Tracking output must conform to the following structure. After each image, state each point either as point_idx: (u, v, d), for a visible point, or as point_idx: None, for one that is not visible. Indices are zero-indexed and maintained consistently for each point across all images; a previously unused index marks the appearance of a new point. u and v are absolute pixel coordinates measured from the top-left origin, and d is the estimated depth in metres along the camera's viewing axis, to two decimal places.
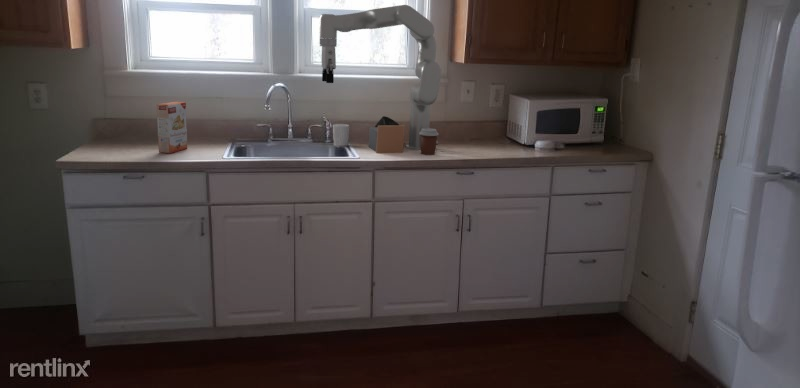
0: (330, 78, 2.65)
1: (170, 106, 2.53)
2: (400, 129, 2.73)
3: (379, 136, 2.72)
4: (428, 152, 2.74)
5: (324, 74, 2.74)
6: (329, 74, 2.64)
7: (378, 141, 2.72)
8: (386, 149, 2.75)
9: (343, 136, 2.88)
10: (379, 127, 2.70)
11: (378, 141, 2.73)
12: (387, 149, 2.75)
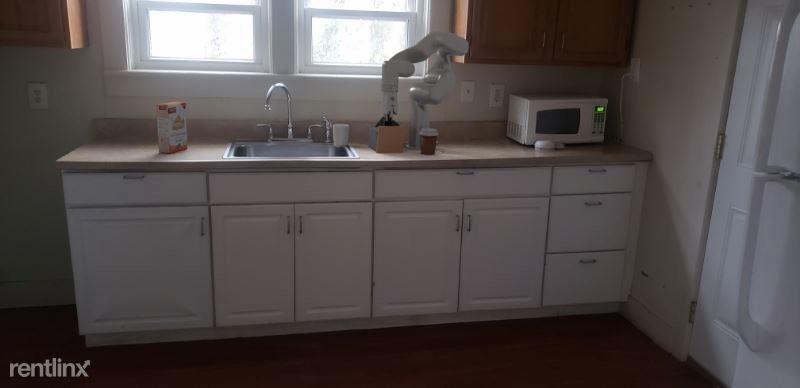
0: (389, 125, 2.71)
1: (170, 106, 2.53)
2: (401, 130, 2.73)
3: (379, 137, 2.71)
4: (428, 152, 2.74)
5: None
6: (388, 121, 2.71)
7: (378, 141, 2.72)
8: (386, 149, 2.75)
9: (343, 136, 2.88)
10: (380, 128, 2.69)
11: (378, 141, 2.72)
12: (387, 149, 2.75)
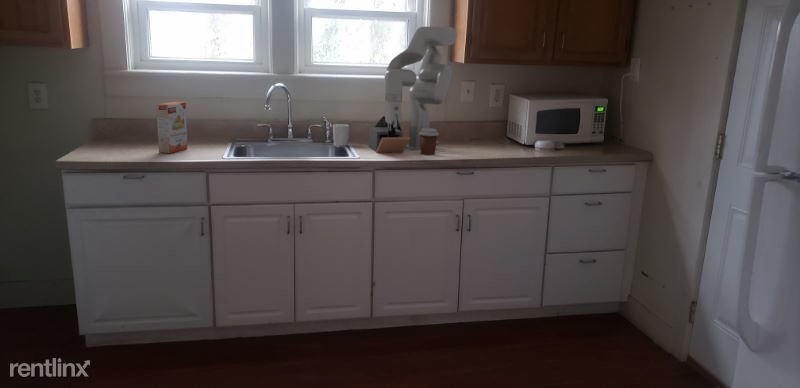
0: (392, 135, 2.66)
1: (170, 106, 2.53)
2: (404, 140, 2.68)
3: (382, 144, 2.68)
4: (428, 152, 2.74)
5: None
6: (392, 131, 2.65)
7: (380, 147, 2.70)
8: (387, 151, 2.74)
9: (343, 136, 2.88)
10: (383, 140, 2.64)
11: (380, 147, 2.70)
12: (388, 151, 2.75)
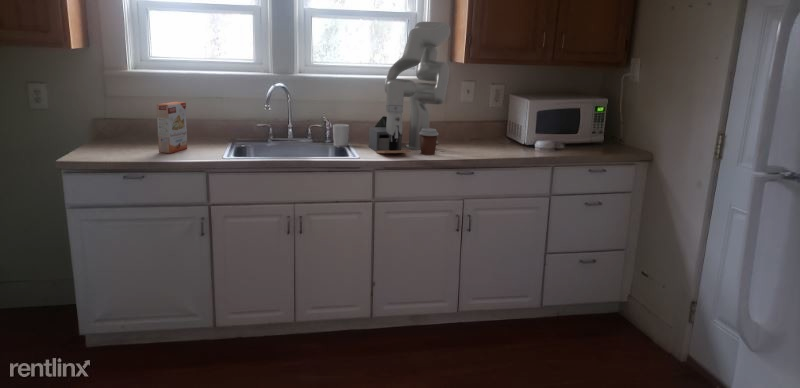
0: (393, 146, 2.65)
1: (170, 106, 2.53)
2: (406, 152, 2.67)
3: None
4: (428, 152, 2.74)
5: None
6: (393, 142, 2.64)
7: None
8: None
9: (343, 136, 2.88)
10: None
11: None
12: None
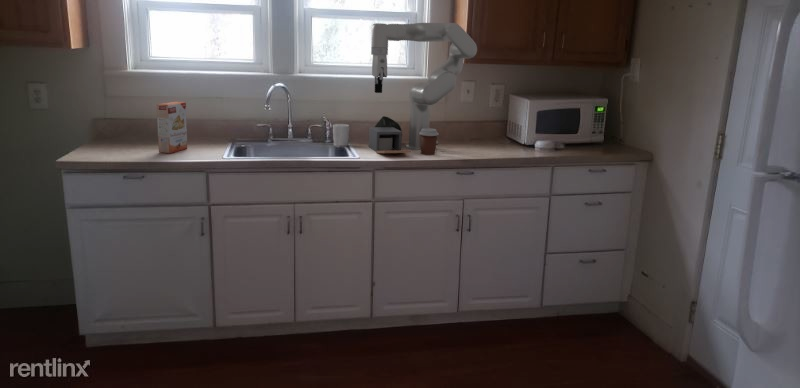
0: (379, 88, 2.74)
1: (170, 106, 2.53)
2: (406, 152, 2.67)
3: None
4: (428, 152, 2.74)
5: None
6: (378, 84, 2.74)
7: None
8: None
9: (343, 136, 2.88)
10: None
11: None
12: None
